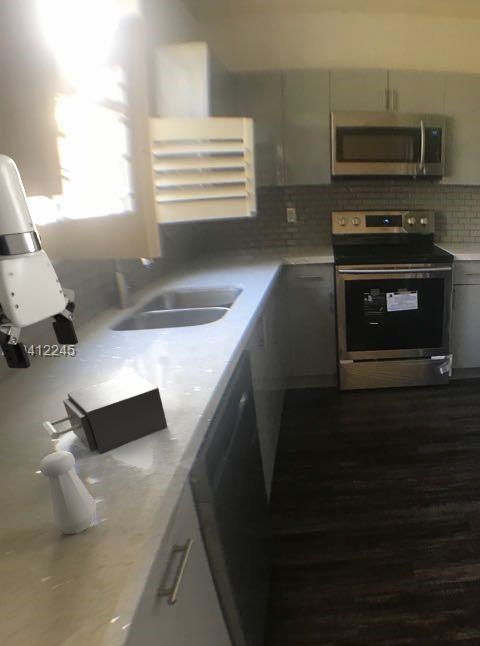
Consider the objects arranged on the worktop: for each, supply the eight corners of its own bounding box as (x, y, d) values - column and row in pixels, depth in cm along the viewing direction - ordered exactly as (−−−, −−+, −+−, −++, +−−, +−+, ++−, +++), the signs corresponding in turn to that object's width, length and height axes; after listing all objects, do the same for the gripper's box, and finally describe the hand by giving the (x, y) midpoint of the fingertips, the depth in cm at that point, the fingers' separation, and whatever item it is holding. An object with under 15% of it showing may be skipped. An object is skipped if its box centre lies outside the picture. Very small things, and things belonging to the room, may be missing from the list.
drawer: (62, 463, 87) (50, 428, 84) (46, 442, 94) (34, 409, 91) (155, 426, 99) (147, 394, 96) (134, 410, 106) (126, 379, 103)
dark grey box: (99, 454, 91) (87, 412, 88) (79, 432, 99) (67, 393, 96) (167, 427, 100) (158, 387, 97) (144, 409, 108) (135, 372, 105)
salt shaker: (86, 508, 76) (63, 441, 72) (108, 518, 74) (86, 450, 69) (49, 531, 72) (22, 462, 67) (71, 543, 69) (45, 472, 64)
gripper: (34, 237, 75) (65, 336, 81) (-76, 257, 59) (-26, 378, 65) (76, 237, 74) (104, 336, 80) (-24, 256, 58) (21, 378, 64)
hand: (46, 355), depth 73 cm, fingers open, 9 cm apart
